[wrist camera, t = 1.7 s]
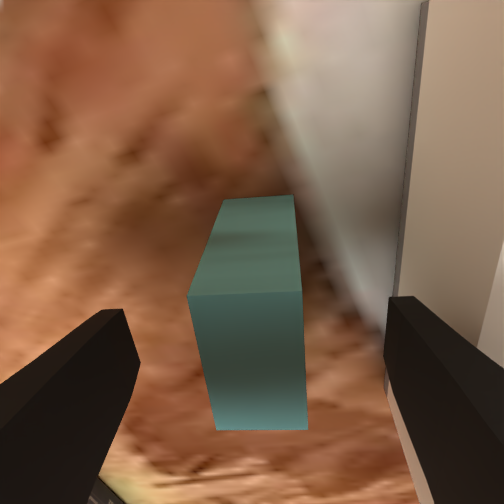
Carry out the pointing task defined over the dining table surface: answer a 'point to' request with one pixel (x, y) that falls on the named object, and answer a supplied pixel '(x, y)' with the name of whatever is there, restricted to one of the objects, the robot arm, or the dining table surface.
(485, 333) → the money box
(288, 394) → the block
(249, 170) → the dining table surface
